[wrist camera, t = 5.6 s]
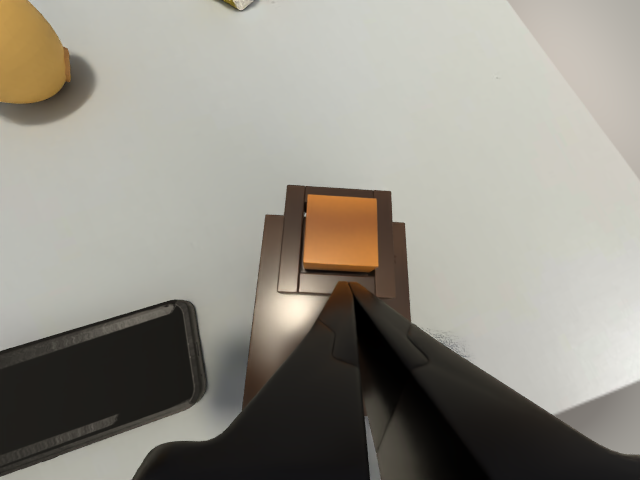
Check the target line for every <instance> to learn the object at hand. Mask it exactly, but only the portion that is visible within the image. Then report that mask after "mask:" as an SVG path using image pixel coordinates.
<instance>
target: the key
mask: <svg viewBox="0 0 640 480" xmlns="http://www.w3.org/2000/svg"><path fill="white" fill-rule="evenodd" d="M303 266H304V269H309V270H328V271H347V272H366V273H369V272H371V271H372V270H374V269H375V268H377V267H378V231H377V199H373V198H358V197H342V196H326V195H310V194H308V197H307V212H306V226H305V241H304V256H303Z"/></svg>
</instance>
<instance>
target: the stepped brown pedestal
mask: <svg viewBox="0 0 640 480" xmlns="http://www.w3.org/2000/svg"><path fill="white" fill-rule="evenodd" d="M308 194H310V195H326V196H342V197H358V198H373V199H377V231H378V267H377V268H375V269H374V270H372V271H371V272H369V273H366V272H347V271H328V270H309V269H304V266H303V256H304V241H305V226H306V217H304V214H305V213H306V212H307V197H308ZM338 281H347V282H358V283H359V284H361V285H362V286H363V287H365V288H366V289H367V290H369V291H370V292H371V293H373V294H374V295H375V296H377V297H378V298H379V299H381V300H382V301H383V302H385V303H386V304H387V305H389V306H390V307H391V308H393V309H394V310H395V311H397V312H398V313H399V314H401V315H402V316H403V317H405V318H406V319H407V320H409V321H410V322H411V316H410V300H409V284H408V268H407V252H406V235H405V223H399V222H392V202H391V191H378V190H360V189H344V188H329V187H313V186H306V187H305V186H298V185H287V191H286V201H285V212H284V216H283V215H266V216H265V224H264V232H263V240H262V249H261V257H260V265H259V273H258V281H257V290H256V298H255V306H254V314H253V322H252V331H251V339H250V347H249V355H248V363H247V372H246V380H245V388H244V396H243V405H242V410H243V409H244V408H245V407H246V406H247V404H248V403H249V402H250V401H251V400H252V399H253V397H254V396H255V395H256V394H257V393H258V392H259V390H260V389H261V388H262V387H263V386H264V385H265V383H266V382H267V381H268V380H269V379H270V377H271V376H272V375H273V374H274V373H275V372H276V370H277V369H278V368H279V367H280V366H281V365H282V363H283V362H284V361H285V360H286V359H287V357H288V356H289V355H290V354H291V353H292V352H293V350H294V349H295V348H296V347H297V346H298V345H299V343H300V342H301V341H302V340H303V338H304V337H305V336H306V335H307V333H308V332H309V330H310V329H311V327H312V326H313V324H314V322H315V321H316V319H317V318H318V316H319V314H320V312H321V311H322V309H323V307H324V305H325V304H326V302H327V300H328V298H329V297H330V295H331V293H332V292H333V290H334V288H335V286H336V285H337V283H338ZM362 395H363V394H362ZM363 406H364V416H367V411H366V407H365V402H364V398H363Z"/></svg>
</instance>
